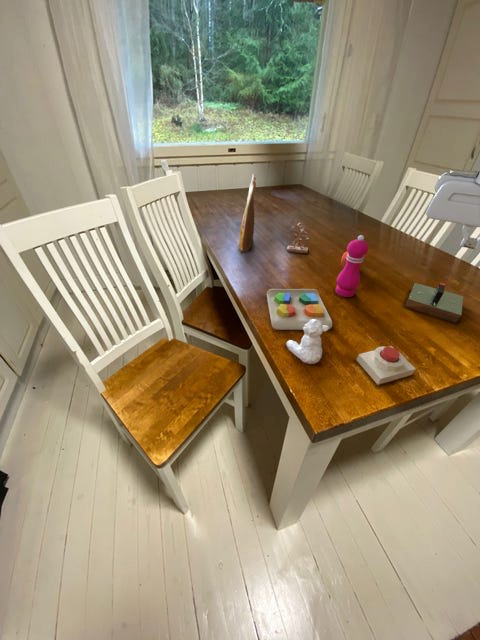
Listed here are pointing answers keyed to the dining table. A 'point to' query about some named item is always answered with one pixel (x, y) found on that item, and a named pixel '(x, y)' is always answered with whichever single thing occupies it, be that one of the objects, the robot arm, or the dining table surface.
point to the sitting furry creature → (309, 342)
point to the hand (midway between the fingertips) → (468, 247)
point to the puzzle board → (296, 308)
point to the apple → (344, 260)
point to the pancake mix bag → (248, 219)
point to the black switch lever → (439, 292)
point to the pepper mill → (352, 268)
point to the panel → (435, 303)
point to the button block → (384, 366)
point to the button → (390, 354)
